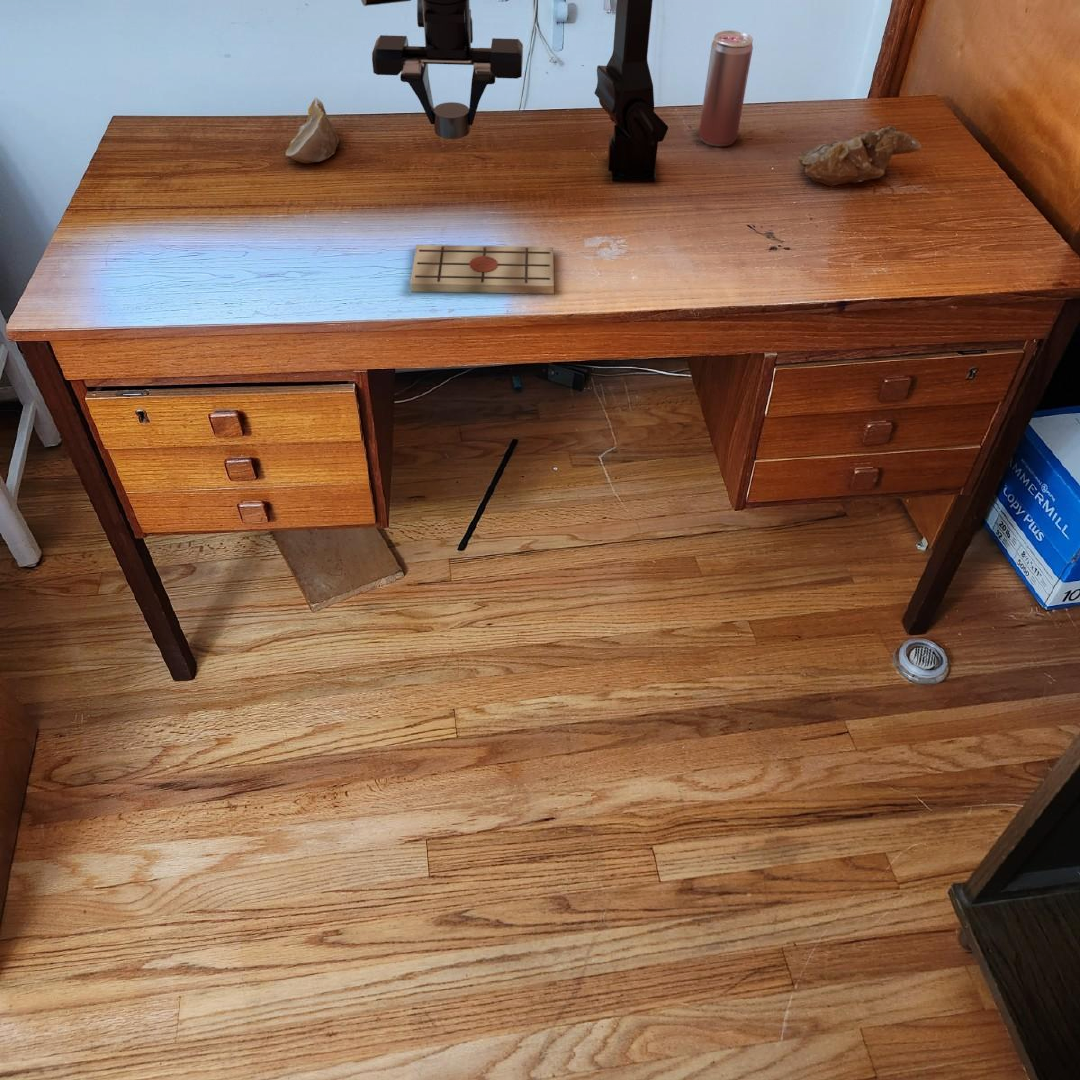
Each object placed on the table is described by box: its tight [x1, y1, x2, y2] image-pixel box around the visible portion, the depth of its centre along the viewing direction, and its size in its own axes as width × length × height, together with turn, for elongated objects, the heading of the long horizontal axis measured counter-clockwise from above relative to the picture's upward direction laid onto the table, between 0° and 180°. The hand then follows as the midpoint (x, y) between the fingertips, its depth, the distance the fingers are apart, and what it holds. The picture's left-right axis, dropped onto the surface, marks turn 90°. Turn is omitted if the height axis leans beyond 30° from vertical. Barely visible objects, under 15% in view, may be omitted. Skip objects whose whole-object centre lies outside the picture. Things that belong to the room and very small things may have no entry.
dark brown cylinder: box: [433, 101, 471, 140], centre depth 128 cm, size 5×5×3 cm
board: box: [409, 244, 555, 295], centre depth 123 cm, size 18×9×1 cm, turn 90°
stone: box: [285, 97, 339, 164], centre depth 144 cm, size 7×6×15 cm
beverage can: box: [698, 30, 754, 148], centre depth 144 cm, size 6×6×15 cm
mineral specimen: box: [797, 125, 922, 187], centre depth 141 cm, size 13×7×15 cm
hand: (452, 123), depth 128 cm, fingers closed on dark brown cylinder, 5 cm apart
